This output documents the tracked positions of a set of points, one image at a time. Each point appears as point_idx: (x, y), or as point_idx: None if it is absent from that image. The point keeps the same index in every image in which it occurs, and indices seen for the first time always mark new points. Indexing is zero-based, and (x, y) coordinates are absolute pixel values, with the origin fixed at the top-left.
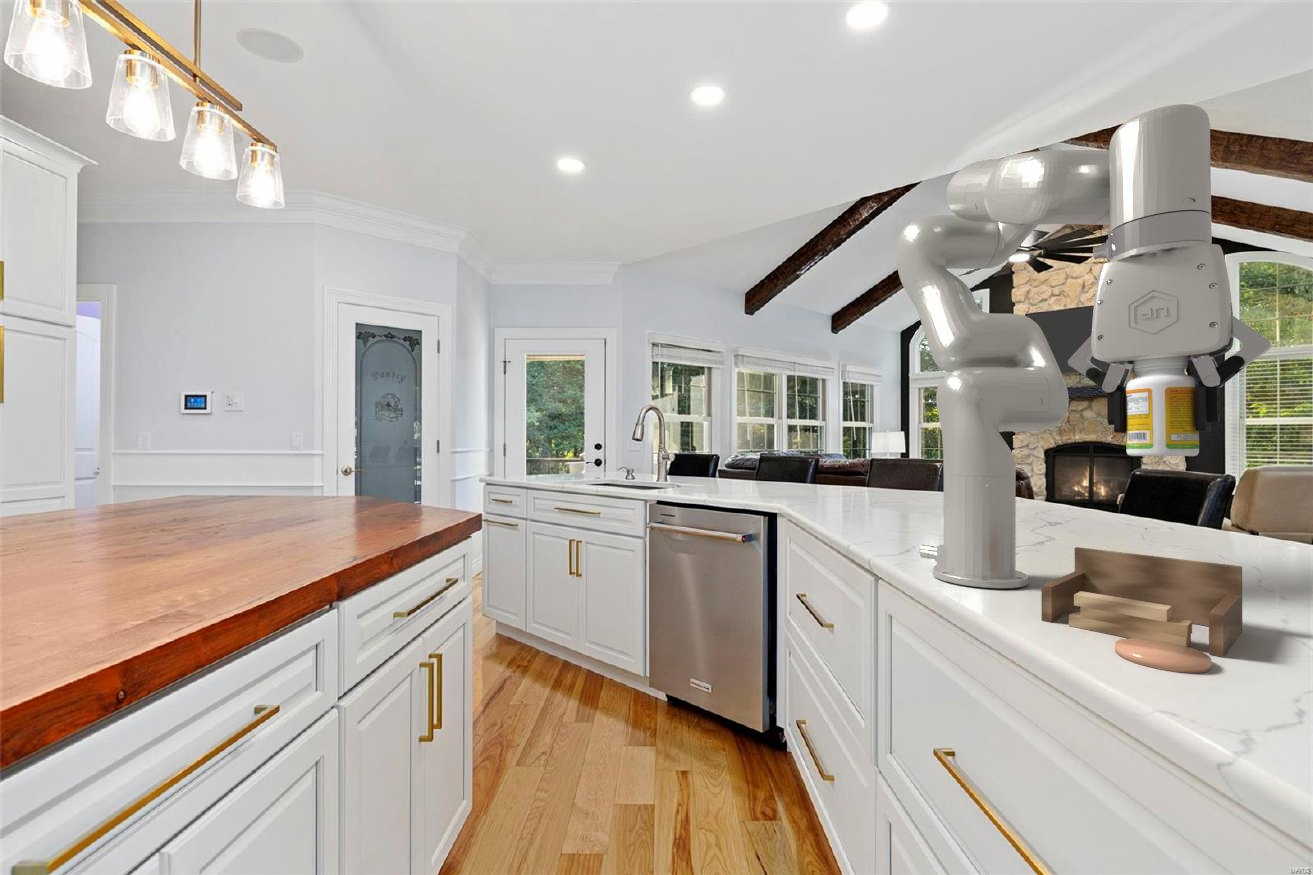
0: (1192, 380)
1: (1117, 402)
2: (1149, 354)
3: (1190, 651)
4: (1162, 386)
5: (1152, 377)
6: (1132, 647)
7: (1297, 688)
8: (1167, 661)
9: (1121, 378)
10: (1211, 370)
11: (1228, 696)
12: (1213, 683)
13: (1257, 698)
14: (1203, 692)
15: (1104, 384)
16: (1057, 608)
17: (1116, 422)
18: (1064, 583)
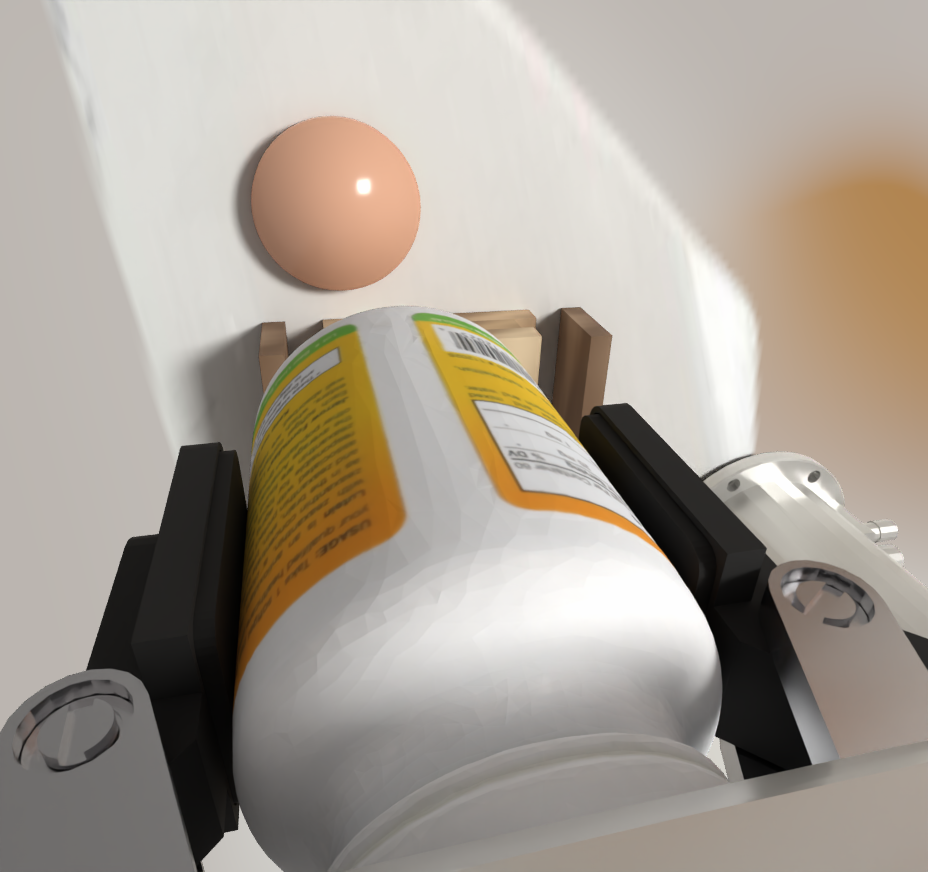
0: (240, 733)
1: (695, 496)
2: (685, 810)
3: (297, 251)
4: (430, 537)
5: (537, 608)
6: (384, 181)
7: (115, 212)
8: (306, 123)
9: (787, 695)
10: (40, 816)
11: (176, 24)
12: (222, 103)
13: (137, 63)
14: (215, 9)
15: (872, 609)
16: (565, 355)
17: (634, 426)
18: (578, 423)
